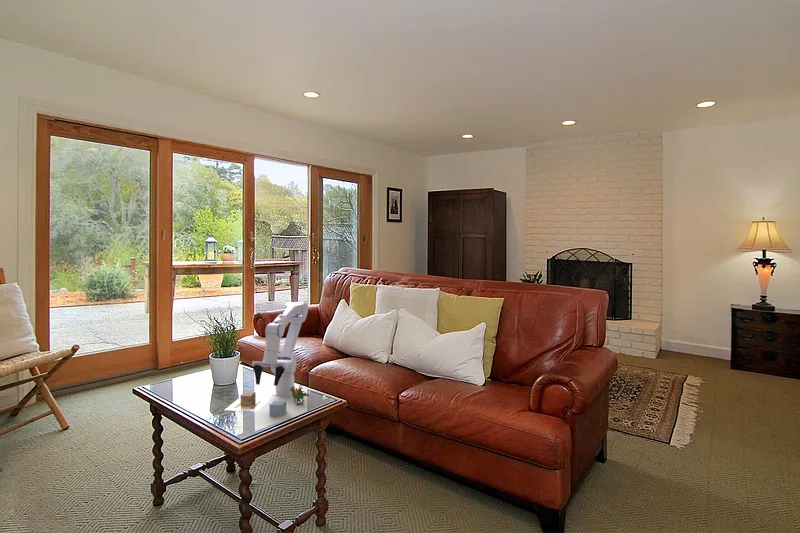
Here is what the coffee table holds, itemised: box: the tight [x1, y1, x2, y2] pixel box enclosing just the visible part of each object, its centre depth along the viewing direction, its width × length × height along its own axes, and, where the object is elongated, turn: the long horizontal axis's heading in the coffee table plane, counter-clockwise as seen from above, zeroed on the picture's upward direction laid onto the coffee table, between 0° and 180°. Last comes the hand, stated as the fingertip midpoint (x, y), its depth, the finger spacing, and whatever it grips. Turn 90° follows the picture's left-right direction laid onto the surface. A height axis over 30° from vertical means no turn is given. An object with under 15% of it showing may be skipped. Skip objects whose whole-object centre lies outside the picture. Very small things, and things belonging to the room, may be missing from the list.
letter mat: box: [224, 397, 271, 413], centre depth 186 cm, size 14×14×1 cm
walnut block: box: [239, 391, 257, 407], centre depth 186 cm, size 4×4×4 cm
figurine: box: [289, 384, 311, 406], centre depth 188 cm, size 3×12×8 cm, turn 55°
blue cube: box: [269, 399, 287, 417], centre depth 176 cm, size 5×5×5 cm
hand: (266, 385), depth 182 cm, fingers open, 7 cm apart
